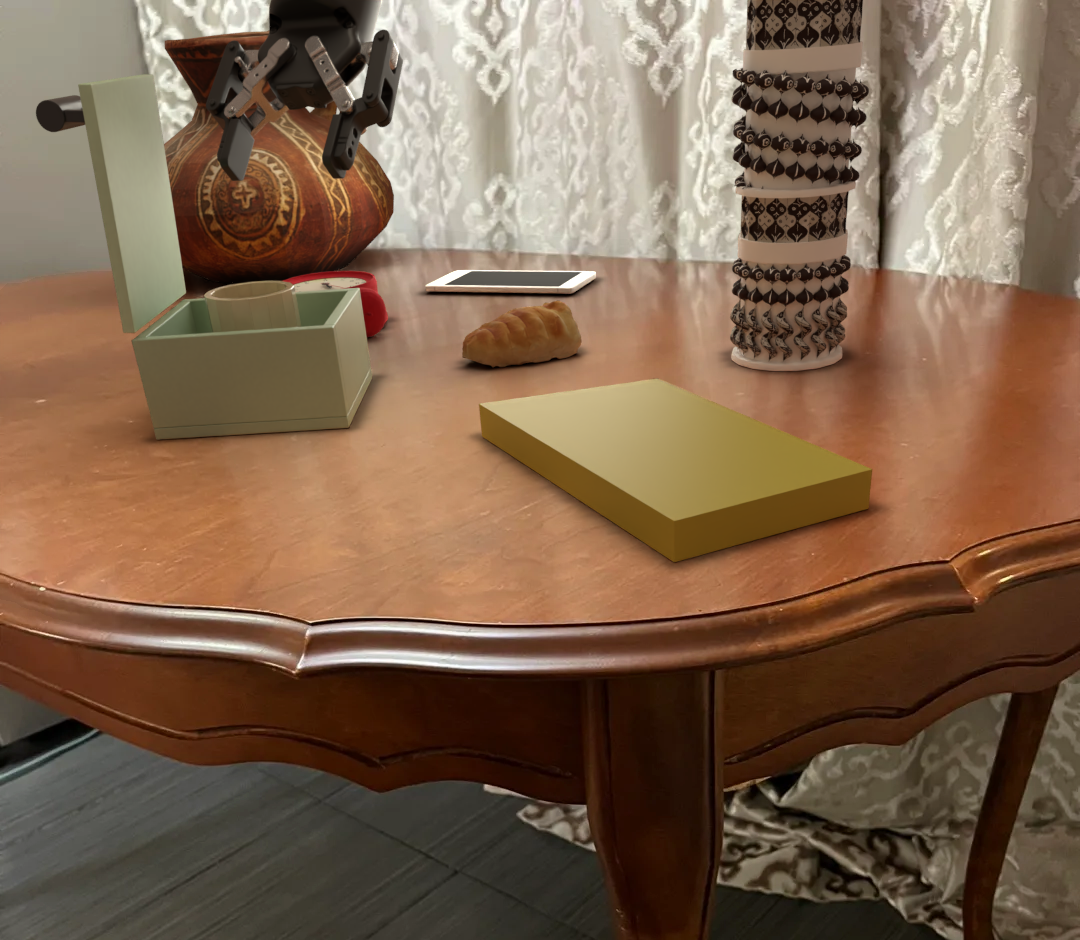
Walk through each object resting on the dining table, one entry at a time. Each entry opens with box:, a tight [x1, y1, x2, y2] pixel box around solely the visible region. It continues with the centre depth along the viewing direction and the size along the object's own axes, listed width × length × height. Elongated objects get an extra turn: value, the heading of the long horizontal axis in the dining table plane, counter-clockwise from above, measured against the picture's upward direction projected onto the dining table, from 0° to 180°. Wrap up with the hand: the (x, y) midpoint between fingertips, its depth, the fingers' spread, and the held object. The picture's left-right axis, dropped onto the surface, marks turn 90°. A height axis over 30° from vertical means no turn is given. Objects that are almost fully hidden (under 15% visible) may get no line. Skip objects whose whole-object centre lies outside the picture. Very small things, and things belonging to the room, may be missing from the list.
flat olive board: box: [478, 378, 873, 563], centre depth 66 cm, size 12×2×24 cm
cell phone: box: [425, 269, 597, 295], centre depth 114 cm, size 8×16×1 cm, turn 69°
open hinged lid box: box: [131, 288, 373, 441], centre depth 81 cm, size 14×13×7 cm
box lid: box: [35, 73, 187, 334], centre depth 75 cm, size 14×13×5 cm
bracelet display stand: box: [729, 0, 870, 372], centre depth 79 cm, size 9×9×25 cm
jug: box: [164, 30, 395, 285], centre depth 125 cm, size 30×30×25 cm
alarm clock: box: [283, 270, 389, 338], centre depth 101 cm, size 10×6×15 cm
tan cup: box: [203, 281, 301, 333], centre depth 81 cm, size 6×6×8 cm
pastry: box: [461, 299, 583, 368], centre depth 90 cm, size 9×7×4 cm
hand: (280, 172), depth 80 cm, fingers open, 8 cm apart
